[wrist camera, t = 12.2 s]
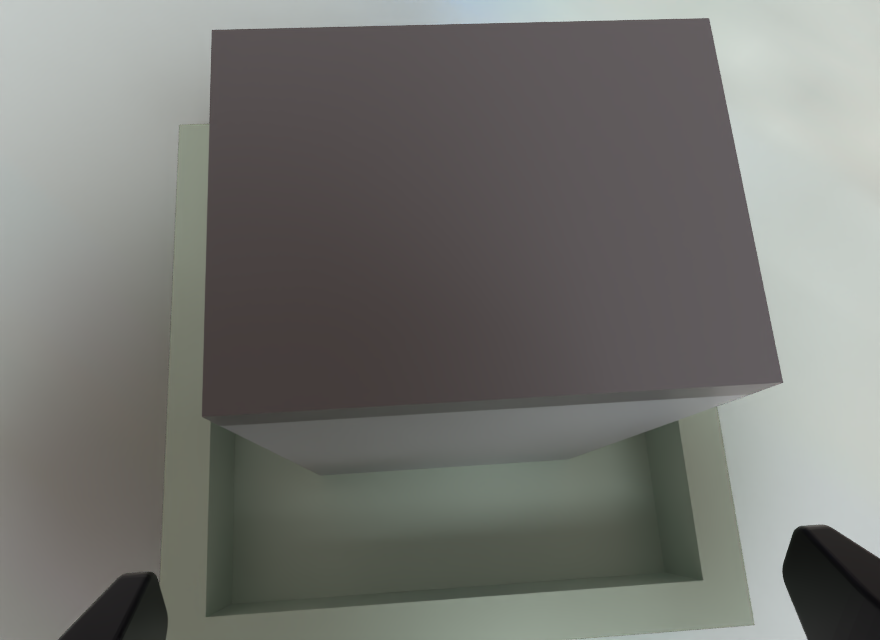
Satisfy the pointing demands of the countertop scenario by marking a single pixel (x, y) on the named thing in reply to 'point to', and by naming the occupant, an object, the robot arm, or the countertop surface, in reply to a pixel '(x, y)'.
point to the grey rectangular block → (474, 241)
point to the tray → (430, 521)
